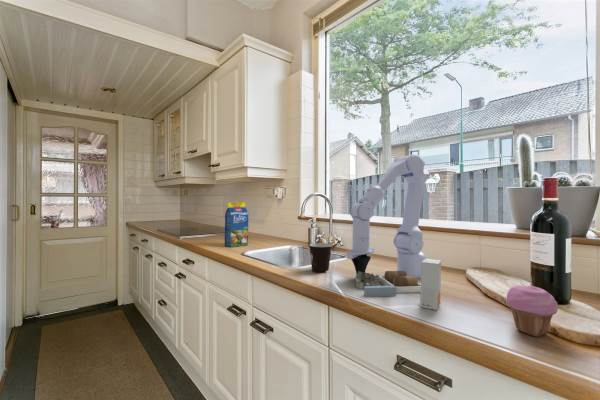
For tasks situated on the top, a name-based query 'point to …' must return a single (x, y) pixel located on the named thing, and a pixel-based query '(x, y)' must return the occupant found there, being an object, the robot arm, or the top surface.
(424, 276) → the skincare box
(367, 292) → the block
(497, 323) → the top surface
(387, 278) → the racked roller
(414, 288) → the white shallow tray
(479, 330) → the top surface
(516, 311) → the cupcake
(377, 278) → the gravel pile
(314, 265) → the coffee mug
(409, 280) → the loose roller
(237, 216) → the blue food package
